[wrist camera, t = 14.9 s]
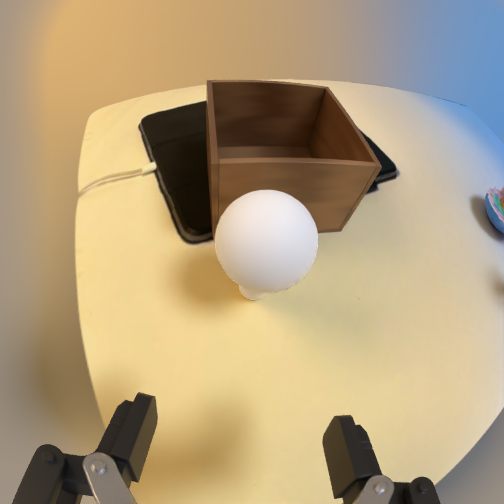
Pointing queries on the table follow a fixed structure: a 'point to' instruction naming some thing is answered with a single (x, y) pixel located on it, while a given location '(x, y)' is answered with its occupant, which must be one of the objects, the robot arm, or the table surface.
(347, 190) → the box
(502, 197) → the cell model
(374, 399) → the table surface
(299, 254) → the lightbulb
